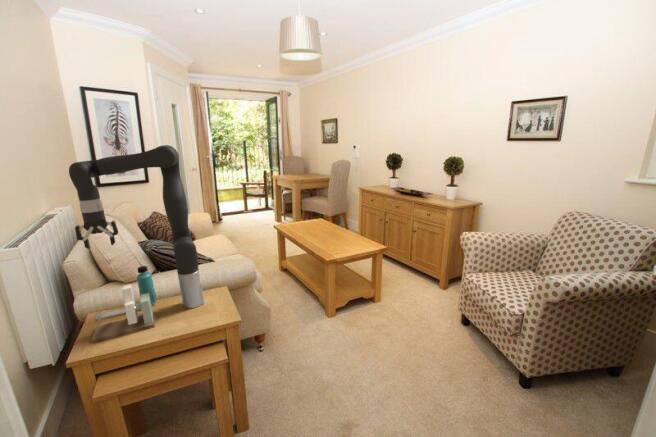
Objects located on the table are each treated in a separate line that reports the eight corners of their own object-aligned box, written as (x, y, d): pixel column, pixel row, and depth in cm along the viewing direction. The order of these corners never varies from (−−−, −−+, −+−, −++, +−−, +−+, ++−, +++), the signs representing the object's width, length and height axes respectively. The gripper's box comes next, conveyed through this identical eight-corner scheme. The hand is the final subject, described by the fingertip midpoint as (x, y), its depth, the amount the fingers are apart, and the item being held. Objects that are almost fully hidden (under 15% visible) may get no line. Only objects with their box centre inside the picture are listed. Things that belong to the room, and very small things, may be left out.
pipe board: (155, 314, 143) (154, 311, 142) (154, 327, 133) (154, 323, 133) (97, 329, 133) (96, 326, 133) (92, 343, 124) (91, 340, 123)
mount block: (153, 313, 141) (149, 292, 138) (152, 322, 134) (148, 300, 131) (145, 315, 139) (141, 294, 137) (144, 324, 133) (140, 302, 130)
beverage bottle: (150, 309, 148) (143, 270, 143) (138, 308, 149) (130, 269, 144) (160, 302, 154) (153, 264, 149) (149, 301, 155) (141, 264, 150)
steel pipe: (147, 307, 137) (146, 301, 136) (146, 310, 134) (145, 304, 133) (97, 319, 129) (96, 312, 128) (96, 322, 126) (94, 316, 126)
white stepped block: (138, 312, 138) (131, 281, 135) (137, 322, 131) (130, 290, 127) (130, 314, 137) (123, 283, 133) (128, 324, 129) (121, 292, 125)
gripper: (113, 206, 136) (121, 241, 140) (73, 210, 130) (82, 247, 134) (111, 209, 130) (119, 245, 134) (68, 214, 123) (78, 252, 127)
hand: (100, 246), depth 134 cm, fingers open, 8 cm apart
